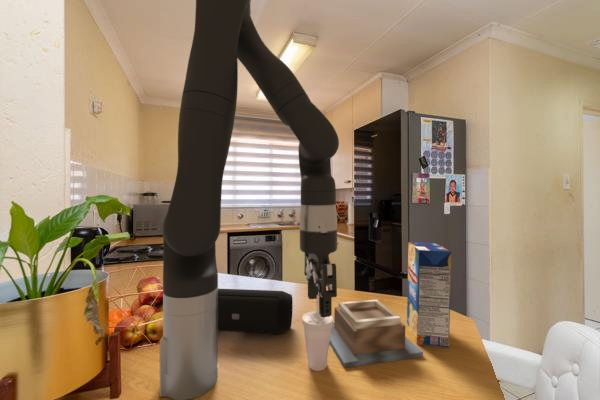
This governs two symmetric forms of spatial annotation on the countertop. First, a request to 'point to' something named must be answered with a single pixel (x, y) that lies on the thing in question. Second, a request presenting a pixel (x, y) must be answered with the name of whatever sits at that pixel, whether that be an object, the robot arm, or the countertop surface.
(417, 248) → the beverage box
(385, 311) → the pedestal base
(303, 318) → the smoothie
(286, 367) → the countertop surface
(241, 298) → the portable speaker
